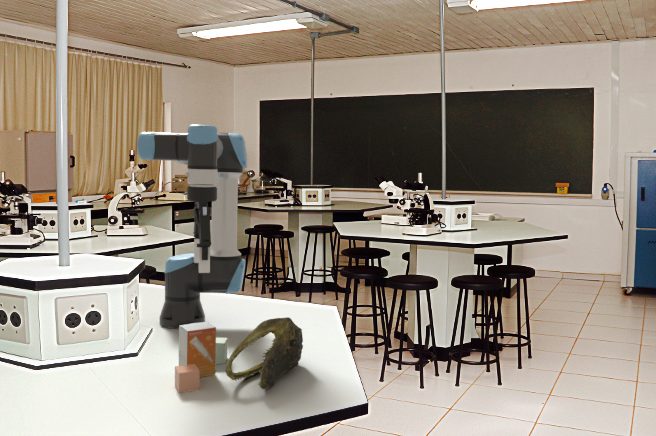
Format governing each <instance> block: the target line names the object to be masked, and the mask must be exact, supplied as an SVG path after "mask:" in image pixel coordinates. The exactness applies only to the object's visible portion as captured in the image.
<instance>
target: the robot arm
mask: <svg viewBox="0 0 656 436" xmlns="http://www.w3.org/2000/svg"><path fill="white" fill-rule="evenodd" d="M136 145H137V147H136V149H137V150H136V151H137V155H138V157H139V158H140V159H141V160H143V161H144V160H145V161H173V162H175V163H177V164H181V165H182V164H183V165H186V166H187V172H185V173H184V176H185V177H187V184H188V186H187V188H186V189H187V190H186V193H187V194H186V198H187V201H189V202H195V203H194V208H193V220H194V221H193V223H194V224H193V237H194V238H193V240H194V241H193V243H194V245H193V253H191V252H190V253H183V254H182V253H181V254H177V255H173V256H169V257H168V258H167V259H166V260H165V264H164V272H163V273H164V302H163V306H162V308H161V311H160V315H159V325H161V326H162V327H164V328H170V329H179V325H186V324H192V323H201V322H206V315H205V310H204V309H203V304H202V302H201V294H216V293H217V294H236V293H239V292H240V291H241V289H242V286H243V282H244V278H245V277H244V276H245V272H246V271H245V270H246V259H244V258H242V253H241V252H240V251H239V250H238V203H239V201H238V196H239V195H238V191H239V178H240V177H241V176H242V175H244V174H243V173H244V172H243V169H244V170H245V169H247V168H248V156H247V148H246V142H245V138H244V136H243V135H242V134H240V133H235V132H218V127H217V126H216V125H211V124H210V125H209V124H190V125H189V126H188V127H187V132H163V131H162V132H161V131H160V132H159V131H157V132H155V131H147V132H146V131H143V132H140V133H139V134H138V137H137V142H136ZM209 202H211V207H210V206H209V204H208V203H209Z"/></svg>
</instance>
